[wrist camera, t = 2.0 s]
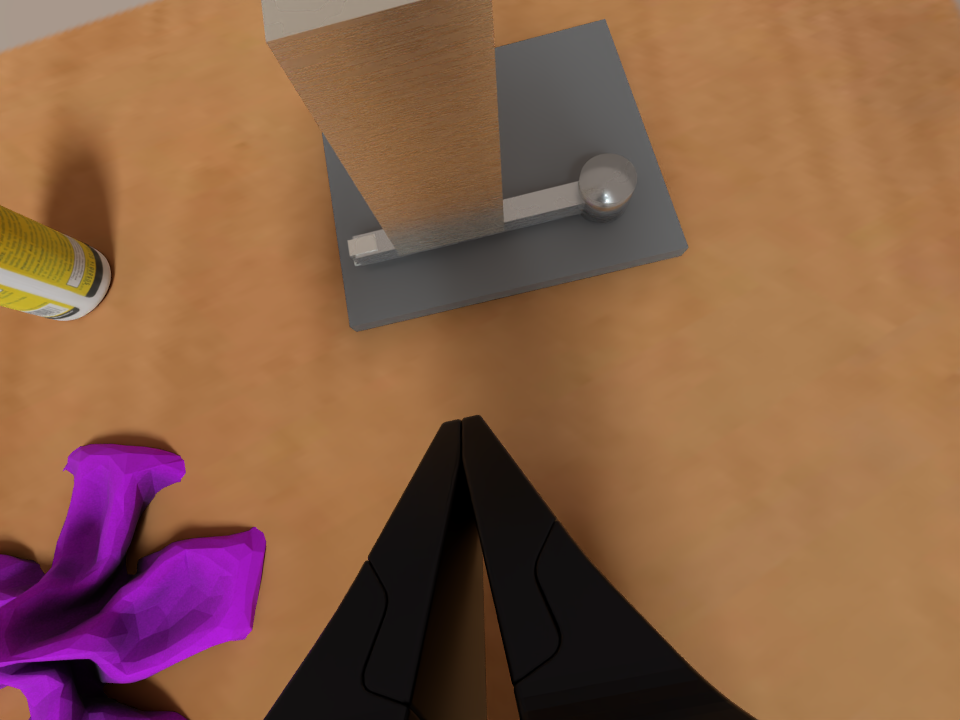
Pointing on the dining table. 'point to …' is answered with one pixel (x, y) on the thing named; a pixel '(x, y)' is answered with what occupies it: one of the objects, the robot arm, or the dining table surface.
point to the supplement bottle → (48, 270)
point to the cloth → (119, 593)
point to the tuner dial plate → (526, 190)
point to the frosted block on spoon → (421, 121)
